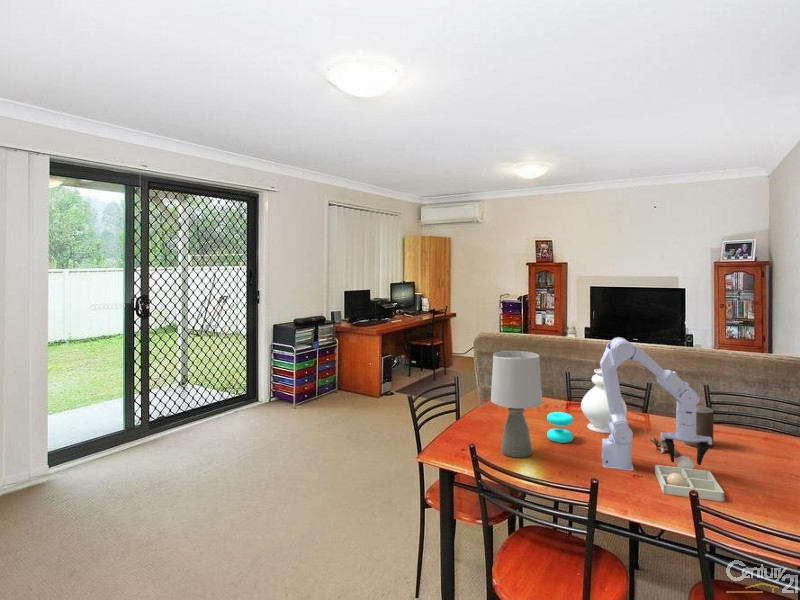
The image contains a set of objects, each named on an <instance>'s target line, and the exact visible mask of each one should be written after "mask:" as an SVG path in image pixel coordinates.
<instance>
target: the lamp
mask: <svg viewBox="0 0 800 600" xmlns="http://www.w3.org/2000/svg"><path fill="white" fill-rule="evenodd" d="M540 363H541V362H540V355H539V354H537V353H536V352H531V351H522V350H521V351H520V350H507V351H503V350H502V351H499V352H494V353H493V356H492V374H491V388H490V391H491V392H490V402H492V404H494V405H496V406H499V407H503V408H507V411H508V412H509V414H508V415H507V418H506V420H505V423H504V427H503V433H502V439H501V446H500V447H501V448H500V449H501V453H502V454H503V455H505V456H507V457H509V458H516V459H523V458H527V457H531V455H532V453H533V452H532V451H533V450H532V441H531V437H530V436H531V435H530V430H529V426H528V422H527V420H526V417H525V415H524V412H525V411H526V410H525V409H531V408H537V407H539V406H541V405H542V404H543V394H542V393H543V392H542V378H541V364H540Z"/></svg>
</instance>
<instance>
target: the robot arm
mask: <svg viewBox="0 0 800 600" xmlns="http://www.w3.org/2000/svg"><path fill="white" fill-rule="evenodd" d="M627 360H632V361H633V362H634V361H635V362H639V363H640V364H641V365H643V366H644V367H645V368H646V369H648V370H649V371H650V372H651V373H652V374H654V375H655V376H656V382H657V383H658V384H659V385H660V386H661V387H662V388H663V389H664V390H666V391H667V392H668V393H669V394H670V395H672V396H673V398H674V399H676V406H675V407H676V408H675V432H660V441H662V440H664V441H665V443H666V445H667V447H668V449H667V450H668V453H669V456H670V458H669V459H670V461H671V463H675V456H674V448H675V446H676V445H675V442H677V441H678V442H684V441H685V442H696V443H697V447H696V453H697V454H696V464H697V465H698V466H701V465H702V461H703V458H704V456H705V455H706V453H707V452H708V450H709V449H710V448H709V445H708V444H710V445H712V438H711V437H707V436H700V435H696V406H698V404H699V403H700V400H701V398H700V397H699V394H698V393H697V391H695V390H694V389H693V388H691V387H690V384H689V383H688V382H686V381H683V380H682V379H681V378H680V377H679V376H678V375H679V374H678V373H677V372H676V371H674V370H671V369H663V367H661V366H660V365H659V364H658V363H657V362H656V361H654V359H653V358H651V357H650V356H649V355H648V354H647V353H646V352H645V351H644V350H642V349H640V347H637V345H634V344H633V343H631V342H630V341H629V340H627V339H626V338H624V337H620V336H617V337H614V338H613V339H611V340H610V341H609V342H608V343H607V344H606V347H605V350H604V352H603V355H602V357H601V359H600V361H599V366H600V369H601V372H602V377H603V382H604V387H605V393H606V398H607V403H608V408H609V423H608V428H609V430H610V432H611V433H609V435H608V438H607V437H606V438H602V439H601V455H600V459H601V462H602V463H601V464H602V467H603V468H607V469H614V470H615V469H616V470H624V471H632V472H633V471H634V470H635V469H634V465H633V463H632V462H633V461H632V450H633V449H632V441H633V436H634V433H633V430H632V428H630V426H629V424H628V419H627V417H626V415H625V412H624V407H623V402H622V398H623V397H622V393H621V386H620V381H619V377H618V372H617V369H618V367H619V366H620V365H621V364H622V363H623V362H626V361H627ZM674 441H675V442H674Z"/></svg>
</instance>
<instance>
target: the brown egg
mask: <svg viewBox="0 0 800 600" xmlns="http://www.w3.org/2000/svg"><path fill="white" fill-rule="evenodd" d="M667 483H668V485H675V486H683V487H685V486H686V481H685V478H684V477H683V476H682V475H680V474H678V473H671V474H669V475H668V477H667Z"/></svg>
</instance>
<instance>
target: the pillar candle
mask: <svg viewBox="0 0 800 600" xmlns="http://www.w3.org/2000/svg"><path fill="white" fill-rule="evenodd" d="M714 413H715V412H714V410H713V409H712V408H710V407H706V406H701V405H696V435H700V436H707V437H711V438H712V445H710V444H708V445H709V449H711V448H713V447H714ZM684 442H685V441H683V443H684ZM685 443H686V444H685ZM685 443H684V444H685V445H687V444H688V446H690V445H691V446H690V447H695V448H697V443H696V442H685ZM712 446H713V447H712Z"/></svg>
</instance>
